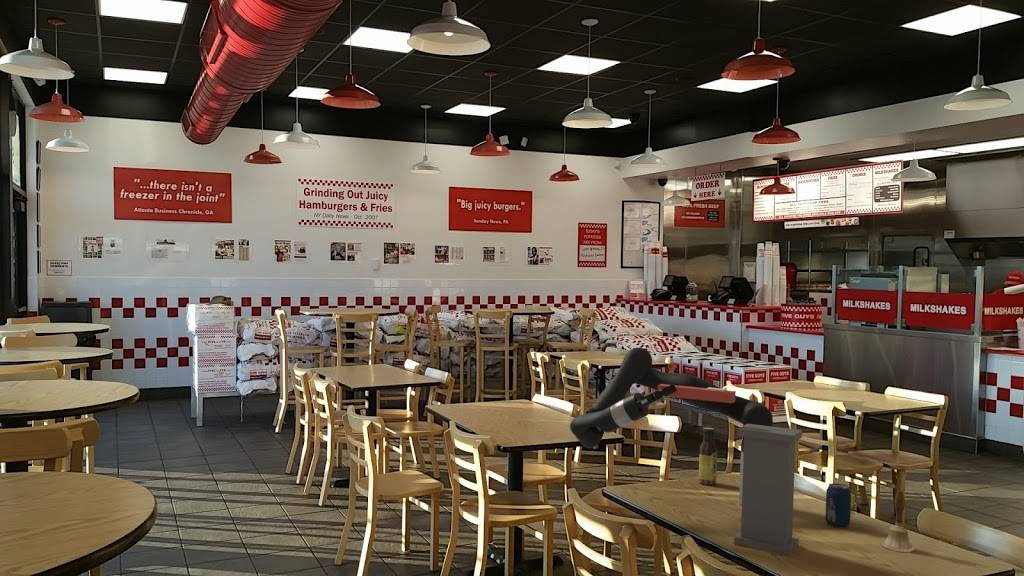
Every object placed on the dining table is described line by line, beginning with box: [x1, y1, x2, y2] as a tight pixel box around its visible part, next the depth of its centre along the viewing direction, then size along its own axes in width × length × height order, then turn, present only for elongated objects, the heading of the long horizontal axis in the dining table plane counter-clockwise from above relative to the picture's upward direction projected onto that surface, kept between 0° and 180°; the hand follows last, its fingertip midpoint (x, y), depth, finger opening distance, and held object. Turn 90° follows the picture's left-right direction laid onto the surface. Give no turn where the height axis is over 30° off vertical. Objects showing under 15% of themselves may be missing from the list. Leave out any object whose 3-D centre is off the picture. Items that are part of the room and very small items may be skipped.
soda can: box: [824, 483, 852, 529], centre depth 244 cm, size 7×7×12 cm
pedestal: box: [733, 424, 803, 556], centre depth 224 cm, size 15×10×32 cm, turn 59°
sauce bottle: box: [698, 427, 718, 486], centre depth 291 cm, size 7×6×20 cm
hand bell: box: [881, 489, 913, 550], centre depth 225 cm, size 8×8×16 cm
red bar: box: [658, 384, 737, 403], centre depth 234 cm, size 22×4×3 cm, turn 59°
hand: (677, 386), depth 237 cm, fingers closed on red bar, 3 cm apart
